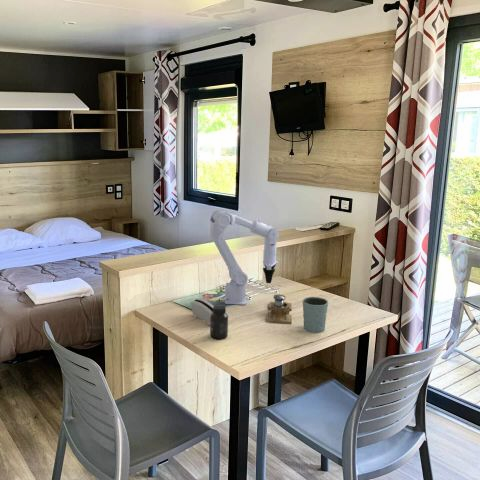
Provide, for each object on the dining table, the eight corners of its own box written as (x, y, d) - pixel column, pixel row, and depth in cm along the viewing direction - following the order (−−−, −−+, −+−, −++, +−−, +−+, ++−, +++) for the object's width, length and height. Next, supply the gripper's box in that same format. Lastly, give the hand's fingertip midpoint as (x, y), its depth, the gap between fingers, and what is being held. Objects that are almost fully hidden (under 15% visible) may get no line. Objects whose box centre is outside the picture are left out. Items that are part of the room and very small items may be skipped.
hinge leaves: (267, 322, 205) (267, 313, 204) (269, 303, 227) (270, 295, 226) (291, 323, 204) (291, 314, 203) (291, 305, 226) (291, 296, 225)
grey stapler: (225, 324, 201) (219, 304, 197) (216, 330, 199) (210, 310, 195) (202, 312, 214) (196, 293, 210) (194, 317, 212) (187, 298, 208)
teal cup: (331, 331, 198) (333, 303, 195) (310, 335, 193) (312, 306, 190) (316, 322, 206) (318, 295, 204) (296, 326, 202) (297, 298, 199)
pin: (272, 314, 213) (273, 298, 211) (272, 310, 218) (273, 294, 216) (284, 315, 213) (285, 298, 211) (284, 311, 218) (285, 294, 216)
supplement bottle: (207, 334, 191) (207, 305, 188) (222, 331, 194) (223, 303, 191) (214, 341, 185) (215, 311, 182) (230, 338, 188) (231, 308, 186)
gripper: (278, 256, 220) (277, 285, 223) (279, 249, 234) (277, 276, 237) (262, 256, 221) (261, 284, 224) (264, 248, 235) (263, 275, 238)
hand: (268, 280), depth 231 cm, fingers open, 7 cm apart
